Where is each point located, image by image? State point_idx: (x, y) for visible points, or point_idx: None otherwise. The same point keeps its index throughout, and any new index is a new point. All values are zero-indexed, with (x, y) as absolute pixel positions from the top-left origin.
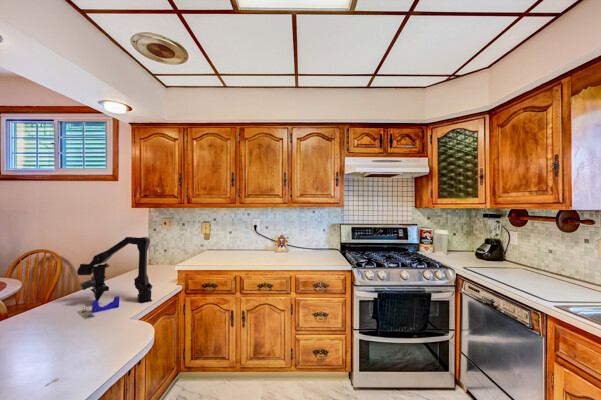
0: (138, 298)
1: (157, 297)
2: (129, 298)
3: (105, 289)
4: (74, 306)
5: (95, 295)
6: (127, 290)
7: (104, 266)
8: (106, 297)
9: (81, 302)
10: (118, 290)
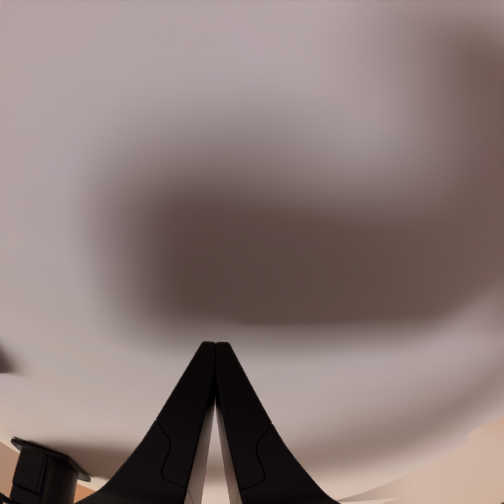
0: (25, 465)
1: None
2: None
3: None
4: (333, 12)
5: (157, 441)
6: (407, 466)
7: None
8: (392, 410)
9: (479, 199)
10: (458, 439)
